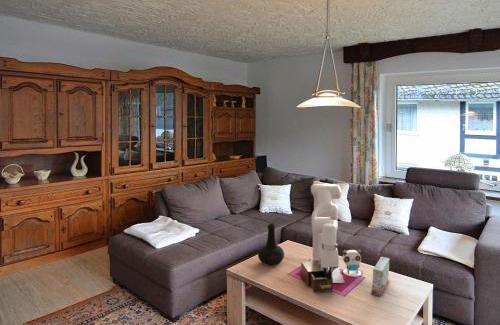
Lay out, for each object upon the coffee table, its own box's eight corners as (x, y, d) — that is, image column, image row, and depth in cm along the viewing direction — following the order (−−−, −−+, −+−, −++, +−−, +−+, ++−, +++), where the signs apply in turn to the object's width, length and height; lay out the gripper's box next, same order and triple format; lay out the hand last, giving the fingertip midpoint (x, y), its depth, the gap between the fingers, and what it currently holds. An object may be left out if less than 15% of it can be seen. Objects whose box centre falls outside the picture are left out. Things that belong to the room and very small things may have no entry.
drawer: (335, 294, 197) (335, 281, 196) (316, 296, 196) (316, 283, 195) (324, 279, 215) (324, 267, 214) (306, 281, 214) (306, 269, 213)
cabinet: (328, 285, 210) (328, 270, 209) (308, 287, 208) (308, 271, 207) (320, 274, 224) (320, 260, 223) (301, 275, 223) (301, 261, 221)
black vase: (253, 263, 242) (252, 225, 238) (269, 255, 255) (268, 218, 251) (273, 271, 230) (272, 230, 226) (289, 262, 243) (288, 223, 239)
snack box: (381, 296, 196) (382, 271, 194) (371, 294, 199) (372, 269, 197) (389, 281, 213) (389, 257, 211) (379, 278, 216) (380, 255, 214)
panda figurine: (344, 276, 220) (344, 254, 218) (340, 268, 231) (340, 247, 229) (363, 276, 220) (364, 253, 218) (358, 268, 231) (358, 247, 229)
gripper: (339, 242, 193) (339, 274, 196) (313, 244, 191) (313, 276, 193) (345, 247, 186) (344, 280, 188) (318, 249, 184) (317, 282, 186)
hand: (328, 278), depth 191 cm, fingers closed
